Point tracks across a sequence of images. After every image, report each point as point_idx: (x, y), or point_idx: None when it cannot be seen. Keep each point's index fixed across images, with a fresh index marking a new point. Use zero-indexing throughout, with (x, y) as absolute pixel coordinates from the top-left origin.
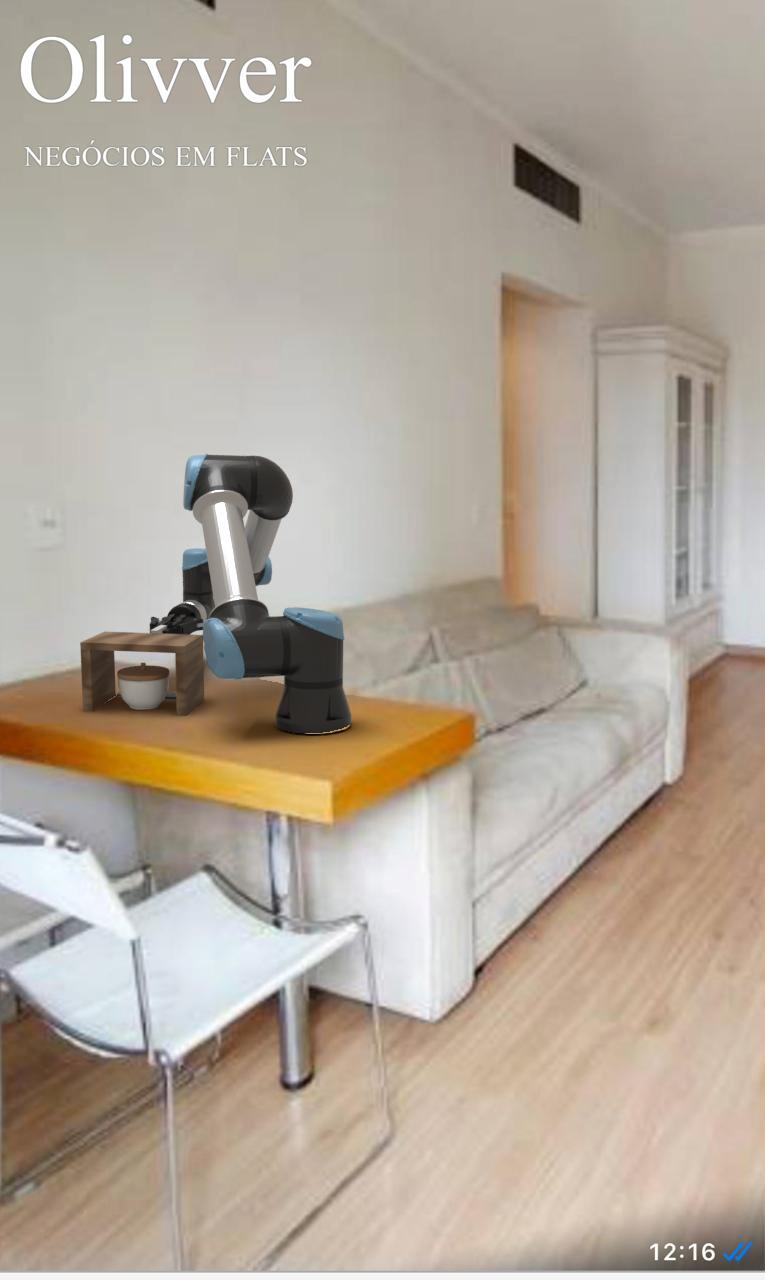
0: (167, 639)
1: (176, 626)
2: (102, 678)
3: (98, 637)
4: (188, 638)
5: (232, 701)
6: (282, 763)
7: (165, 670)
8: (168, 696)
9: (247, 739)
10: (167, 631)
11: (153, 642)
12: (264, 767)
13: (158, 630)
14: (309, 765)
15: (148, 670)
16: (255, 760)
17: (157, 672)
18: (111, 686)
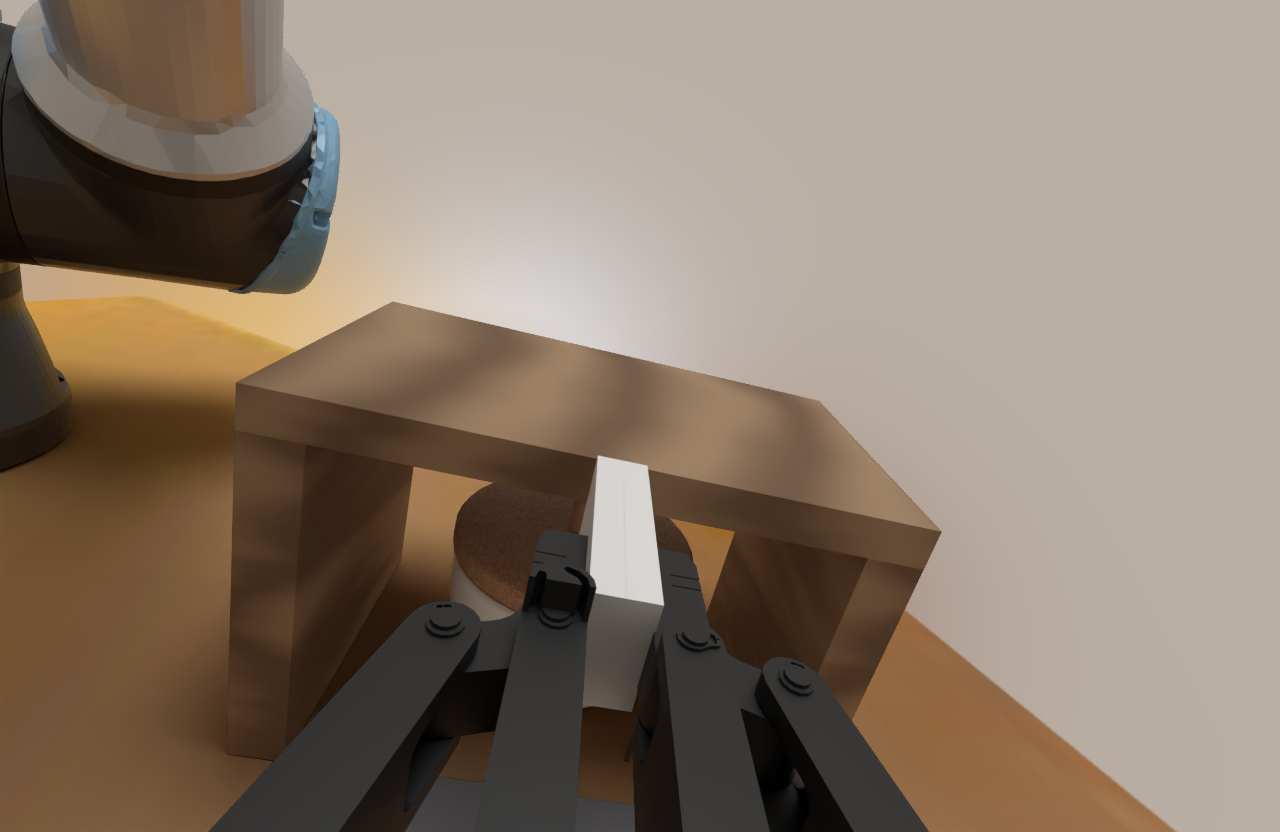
0: (484, 365)
1: (474, 621)
2: (755, 603)
3: (829, 438)
4: (363, 355)
5: (37, 729)
6: (197, 334)
7: (474, 516)
8: (451, 787)
9: (217, 403)
10: (541, 539)
11: (538, 350)
12: (242, 334)
13: (595, 471)
14: (145, 321)
15: (553, 518)
16: (247, 349)
17: (505, 494)
18: None
